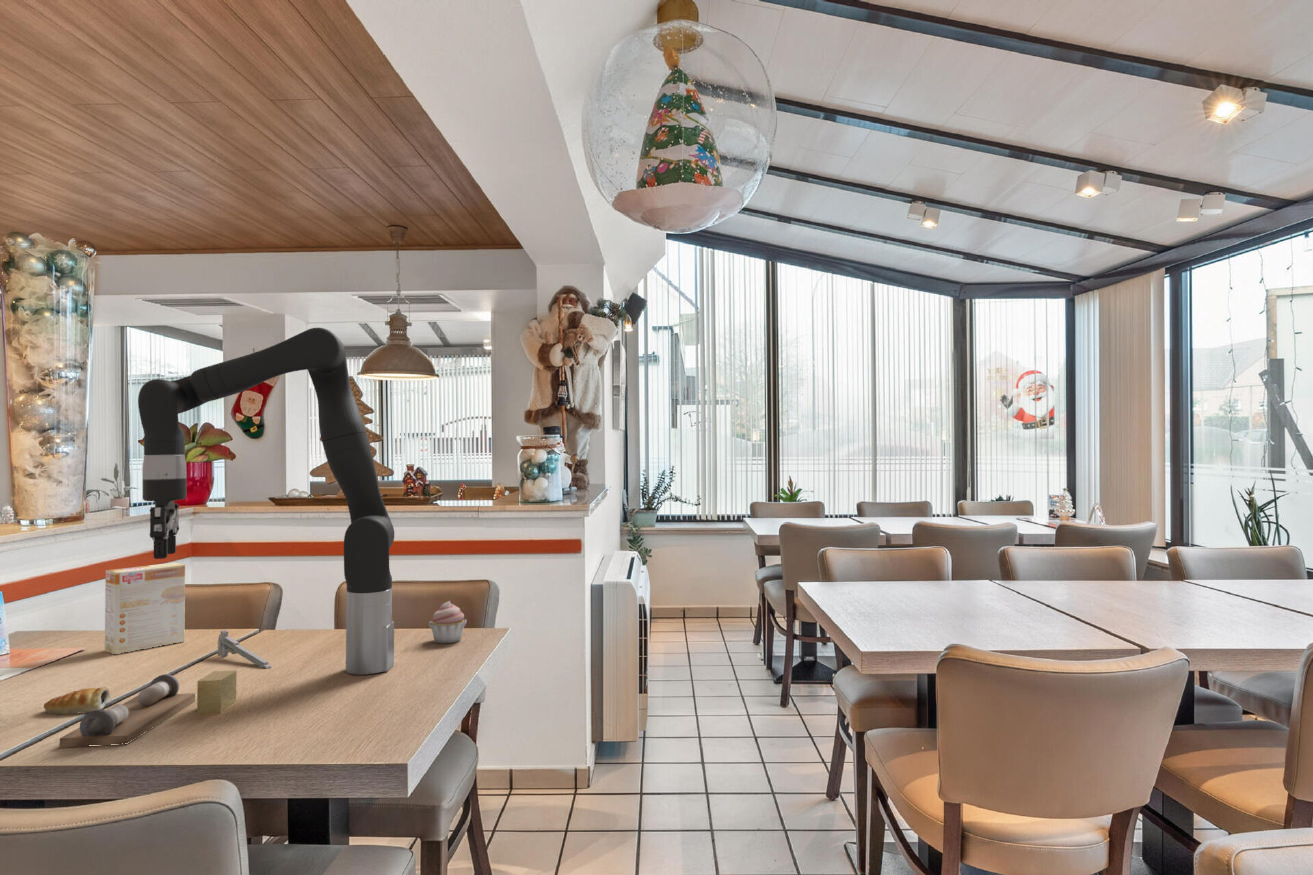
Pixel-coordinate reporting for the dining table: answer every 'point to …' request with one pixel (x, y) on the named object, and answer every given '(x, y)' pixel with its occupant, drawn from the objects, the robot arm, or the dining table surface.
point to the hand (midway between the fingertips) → (165, 556)
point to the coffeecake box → (144, 607)
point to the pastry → (79, 701)
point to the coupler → (216, 692)
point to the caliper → (238, 650)
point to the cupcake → (447, 624)
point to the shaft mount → (130, 715)
